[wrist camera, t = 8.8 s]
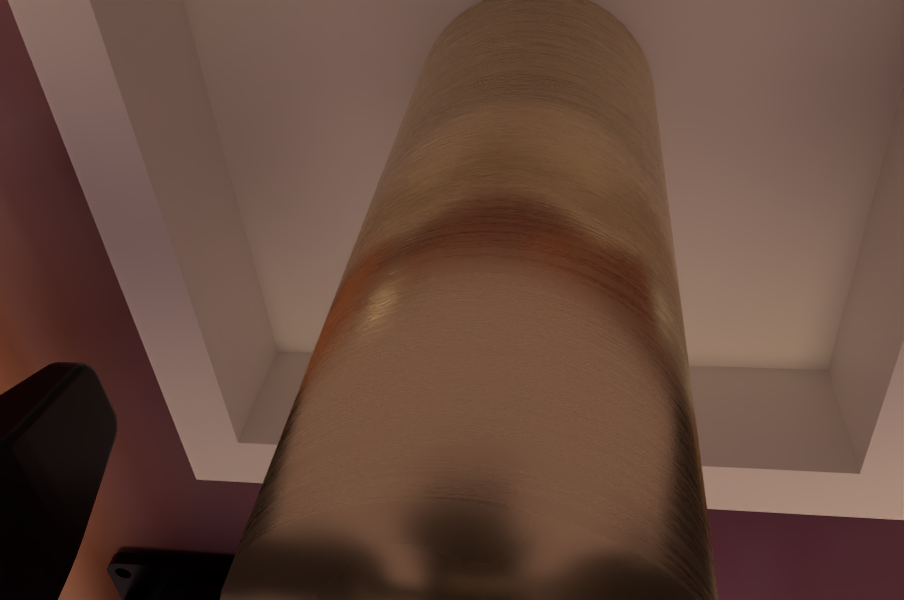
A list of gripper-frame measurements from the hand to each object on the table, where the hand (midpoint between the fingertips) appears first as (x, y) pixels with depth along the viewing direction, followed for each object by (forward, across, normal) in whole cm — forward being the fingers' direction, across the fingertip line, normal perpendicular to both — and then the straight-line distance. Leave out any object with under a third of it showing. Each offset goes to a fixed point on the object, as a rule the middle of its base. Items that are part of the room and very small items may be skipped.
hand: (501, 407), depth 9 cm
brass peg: (+7, 0, 0) cm, 7 cm away
